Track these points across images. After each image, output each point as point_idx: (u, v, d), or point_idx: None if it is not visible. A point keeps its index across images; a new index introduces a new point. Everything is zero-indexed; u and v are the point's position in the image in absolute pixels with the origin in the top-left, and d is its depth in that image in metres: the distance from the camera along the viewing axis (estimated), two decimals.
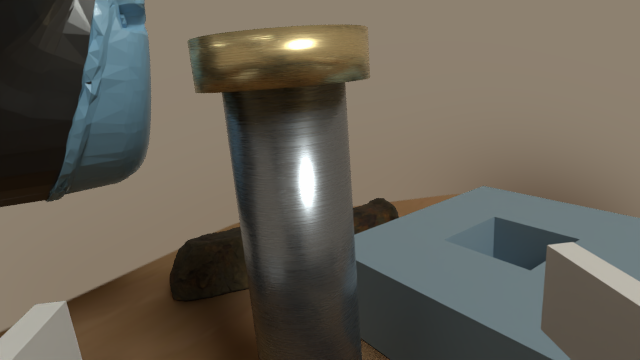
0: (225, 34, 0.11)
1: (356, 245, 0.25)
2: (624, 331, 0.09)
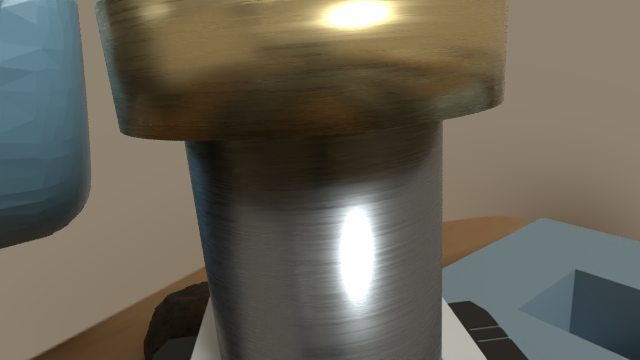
0: None
1: None
2: None
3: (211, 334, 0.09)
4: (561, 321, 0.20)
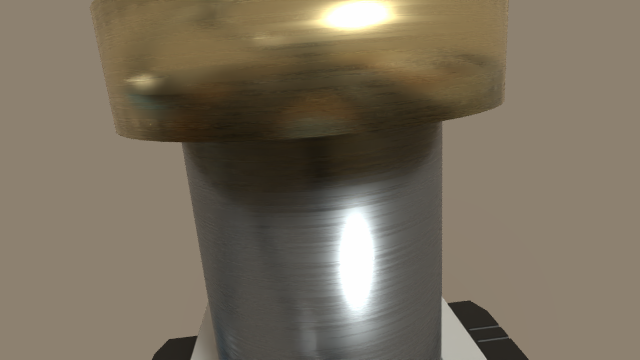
0: None
1: None
2: None
3: (211, 334, 0.09)
4: None
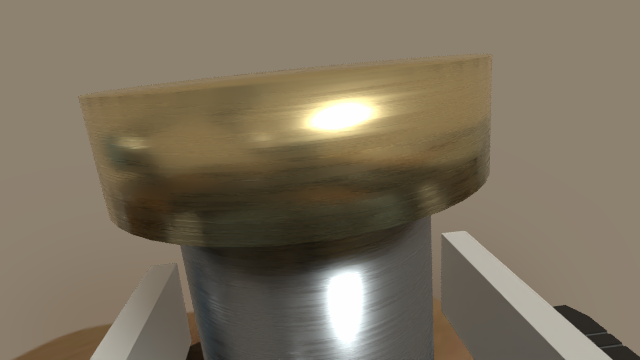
0: (145, 98, 0.04)
1: None
2: (483, 306, 0.10)
3: None
4: None
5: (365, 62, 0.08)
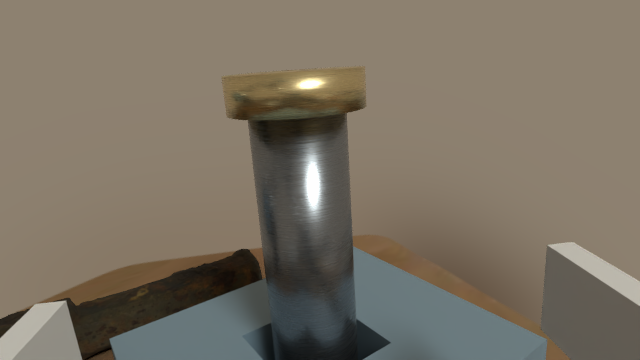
0: (255, 77, 0.14)
1: (140, 341, 0.21)
2: (624, 332, 0.09)
3: None
4: None
5: None
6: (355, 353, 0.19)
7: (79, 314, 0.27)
